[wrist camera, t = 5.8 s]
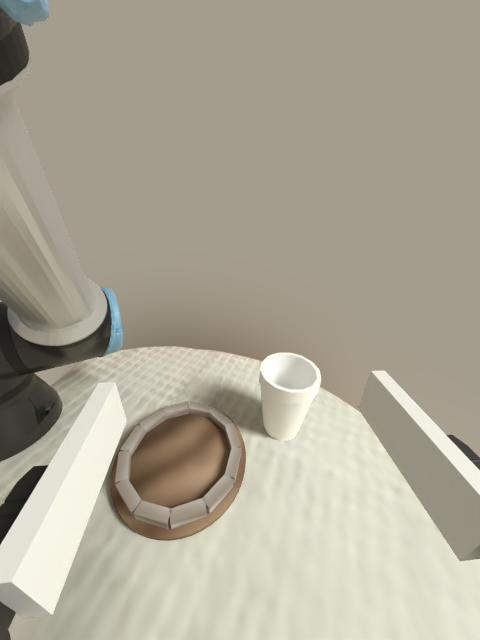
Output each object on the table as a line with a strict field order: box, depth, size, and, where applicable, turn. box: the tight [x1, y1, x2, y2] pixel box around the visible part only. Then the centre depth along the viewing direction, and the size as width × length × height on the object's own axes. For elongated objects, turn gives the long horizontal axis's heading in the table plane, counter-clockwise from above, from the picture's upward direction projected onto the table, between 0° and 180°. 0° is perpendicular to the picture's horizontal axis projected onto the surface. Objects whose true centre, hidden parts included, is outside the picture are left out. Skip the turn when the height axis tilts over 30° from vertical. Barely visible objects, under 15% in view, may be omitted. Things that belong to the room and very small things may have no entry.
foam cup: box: [259, 353, 321, 441], centre depth 40 cm, size 10×9×13 cm
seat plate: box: [111, 402, 246, 540], centre depth 37 cm, size 20×20×2 cm
